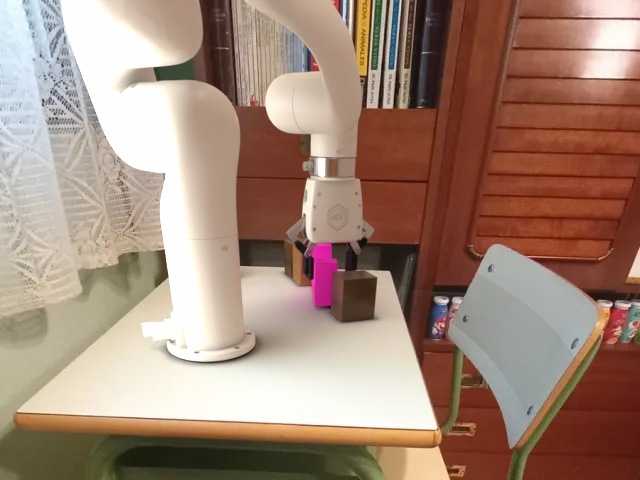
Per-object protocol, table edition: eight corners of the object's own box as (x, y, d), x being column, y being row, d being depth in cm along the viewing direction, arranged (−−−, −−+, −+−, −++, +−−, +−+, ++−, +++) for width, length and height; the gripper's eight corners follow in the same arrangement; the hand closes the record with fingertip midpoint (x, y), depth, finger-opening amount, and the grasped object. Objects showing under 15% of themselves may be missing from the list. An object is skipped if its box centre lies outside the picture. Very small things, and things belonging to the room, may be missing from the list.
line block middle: (300, 286, 97) (300, 250, 94) (292, 279, 101) (292, 245, 98) (327, 284, 99) (328, 248, 96) (319, 277, 103) (320, 243, 100)
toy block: (349, 306, 85) (352, 262, 81) (314, 305, 85) (315, 262, 81) (341, 282, 98) (343, 244, 94) (311, 282, 97) (311, 243, 93)
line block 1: (291, 278, 102) (290, 244, 98) (284, 272, 106) (283, 239, 102) (317, 276, 104) (318, 242, 100) (310, 270, 108) (310, 238, 104)
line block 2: (341, 322, 80) (343, 280, 76) (330, 312, 84) (332, 272, 80) (374, 318, 82) (377, 277, 78) (361, 309, 86) (364, 269, 82)
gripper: (289, 171, 75) (291, 285, 84) (390, 170, 80) (380, 278, 89) (276, 167, 80) (279, 274, 90) (370, 167, 86) (363, 268, 95)
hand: (329, 275), depth 89 cm, fingers closed on toy block, 7 cm apart
